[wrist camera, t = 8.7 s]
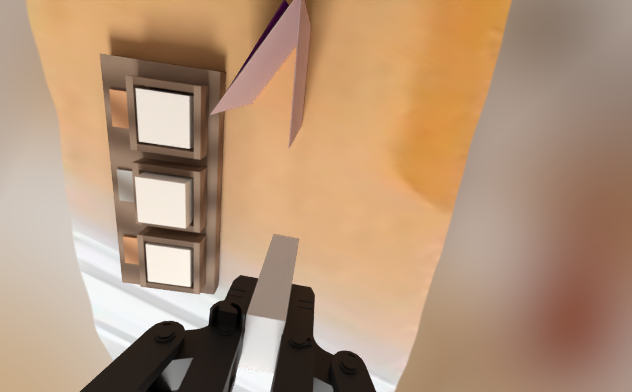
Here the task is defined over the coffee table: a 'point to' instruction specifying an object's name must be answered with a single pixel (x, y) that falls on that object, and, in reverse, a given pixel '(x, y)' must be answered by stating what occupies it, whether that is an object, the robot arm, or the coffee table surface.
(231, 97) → the greeting card
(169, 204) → the button middle
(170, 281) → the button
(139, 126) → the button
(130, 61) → the button board
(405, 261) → the coffee table surface
